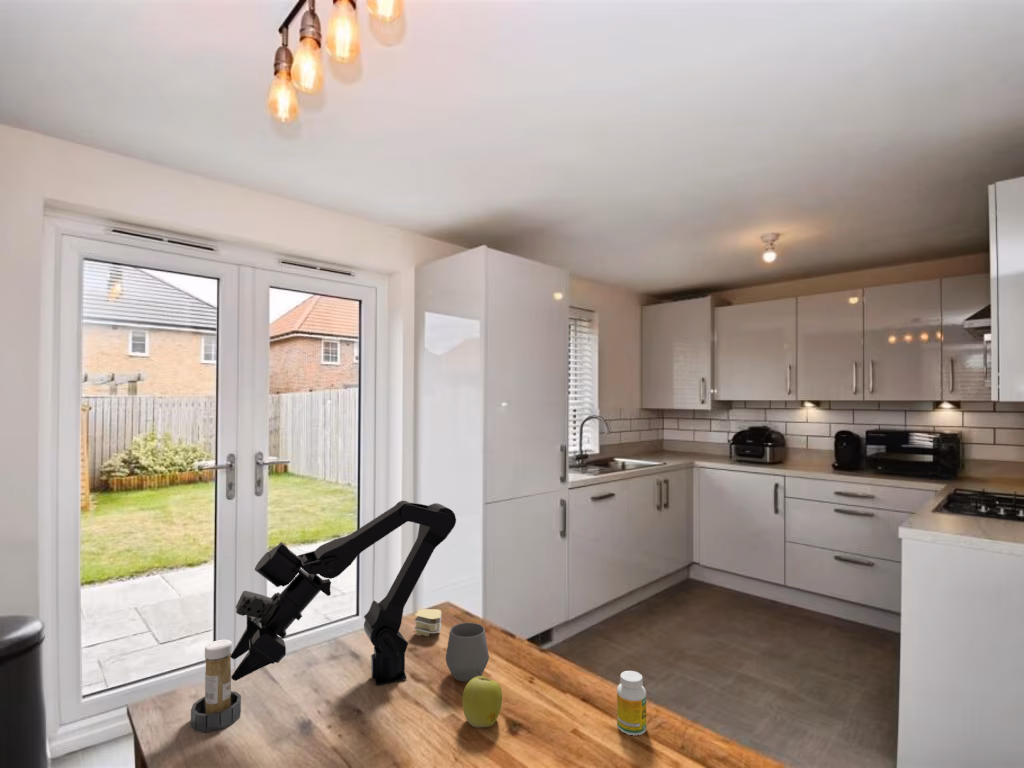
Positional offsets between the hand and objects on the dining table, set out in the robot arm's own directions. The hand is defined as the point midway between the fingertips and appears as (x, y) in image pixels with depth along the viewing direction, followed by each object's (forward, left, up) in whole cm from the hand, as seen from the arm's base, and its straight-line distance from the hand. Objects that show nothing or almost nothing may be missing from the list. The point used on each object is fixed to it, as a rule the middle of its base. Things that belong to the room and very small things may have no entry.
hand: (232, 668), depth 105 cm
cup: (-46, +2, -9) cm, 47 cm away
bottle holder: (+3, 0, -9) cm, 9 cm away
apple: (-44, +19, -9) cm, 49 cm away
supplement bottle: (-69, +31, -9) cm, 77 cm away
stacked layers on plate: (-43, -21, -9) cm, 49 cm away
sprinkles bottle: (+2, 0, -8) cm, 9 cm away
